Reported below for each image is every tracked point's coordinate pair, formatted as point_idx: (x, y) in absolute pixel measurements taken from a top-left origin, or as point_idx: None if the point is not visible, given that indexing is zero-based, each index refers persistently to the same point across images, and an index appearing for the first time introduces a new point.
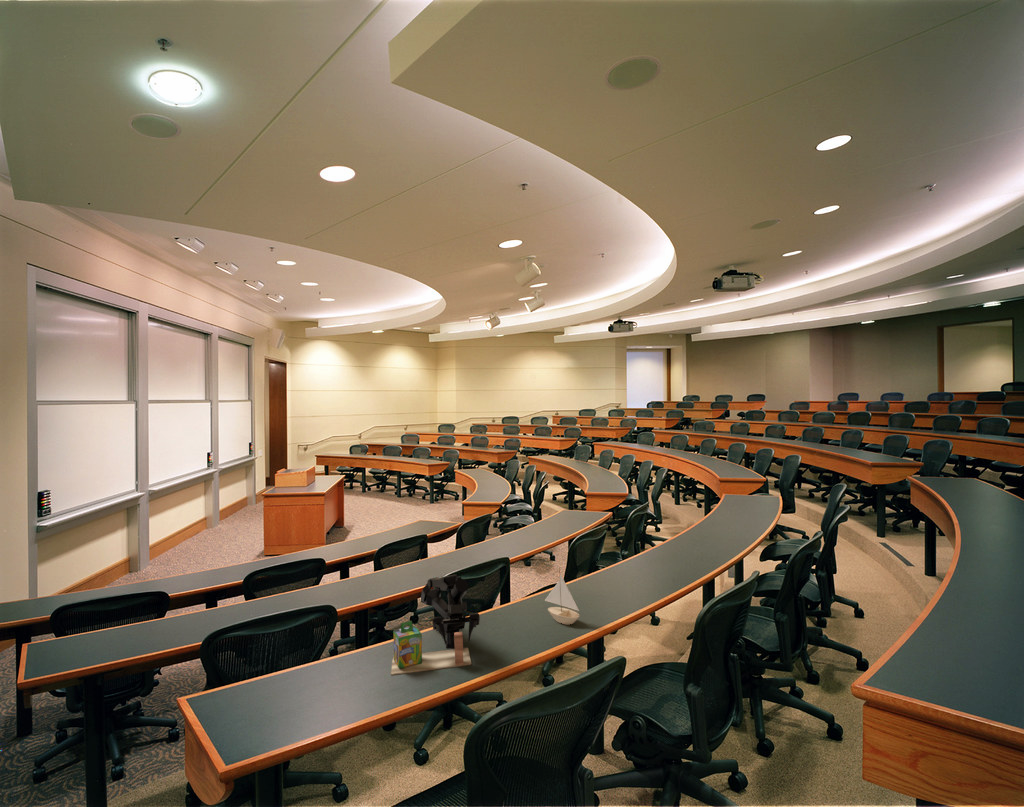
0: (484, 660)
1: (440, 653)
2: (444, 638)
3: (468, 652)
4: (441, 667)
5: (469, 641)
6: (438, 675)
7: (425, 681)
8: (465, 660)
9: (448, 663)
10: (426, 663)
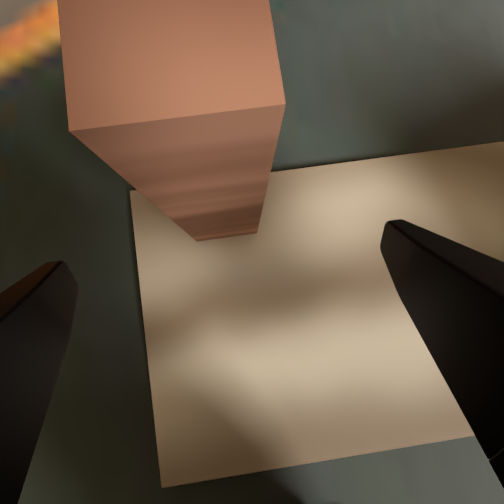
0: (33, 253)
1: (392, 397)
2: (449, 245)
3: (154, 385)
4: (350, 162)
5: (61, 273)
6: (355, 82)
7: (428, 20)
8: (175, 242)
9: (305, 210)
10: (475, 232)
